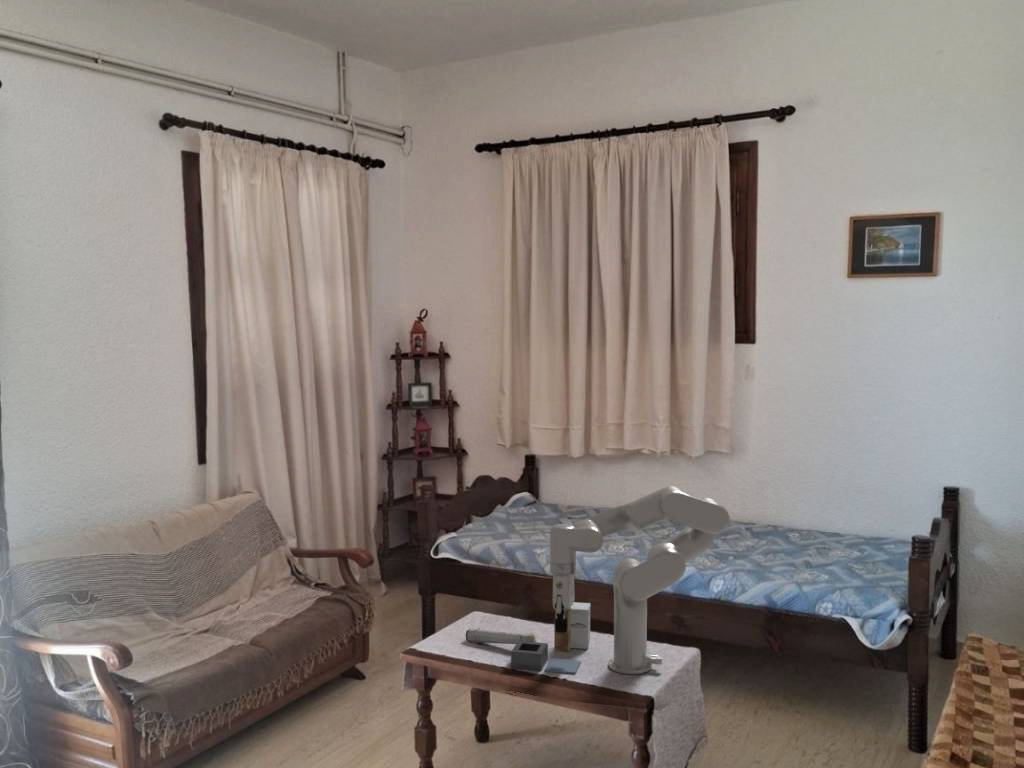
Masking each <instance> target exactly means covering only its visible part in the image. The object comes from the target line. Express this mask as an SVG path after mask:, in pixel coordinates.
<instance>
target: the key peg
mask: <svg viewBox="0 0 1024 768" xmlns="http://www.w3.org/2000/svg"><path fill="white" fill-rule="evenodd" d="M561 608H564V606H562V607H561ZM553 609H554V630H553V631H554V634H553V635H554V636H553V637H554V640H553V641H554V648H553V649H554V652H555V653H556V652H557V653H564V654H568V653H570V650H571V649H572V648H571V608H570V609H569V610H567V609H566V619H567V632H566V633H563V632H556V631H555V630H556V608H554V607H553ZM563 611H564V610H561V612H563Z"/></svg>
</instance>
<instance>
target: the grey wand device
mask: <svg viewBox="0 0 1024 768" xmlns="http://www.w3.org/2000/svg"><path fill="white" fill-rule="evenodd" d="M465 640H466V642H468V641H471V642H470V643H475V642H476V643H475V644H477V643H478V644H481V643H482V644H501V645H505V644H508V645H516V644H517V642H518V641H526V642H537V643H540V642H539V641H537V640H536V635H535V634H534V633H533V632H525V633H515V632H504V631H498V630H497V631H494V630H487V629H486V630H485V629H481V628H479V627H478V628H476V629H473V628H469V629H468V630H466V633H465Z"/></svg>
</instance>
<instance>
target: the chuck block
mask: <svg viewBox="0 0 1024 768" xmlns="http://www.w3.org/2000/svg"><path fill="white" fill-rule="evenodd" d="M537 642H538V641H536V642H526V641H518V642H517V644H514V647H512V649H511V651H510V669H513V670H514V669H515V670H516V669H517V670H527V671H536V672H542V671H543V669H544V667H546V666H545V665H546V664H547V662H548V661H549V660H548V659H549V653H548V652H549V651H548V650H549V645H548V644H549V643H548V642H547V643H546V642H539V643H537Z"/></svg>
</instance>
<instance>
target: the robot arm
mask: <svg viewBox="0 0 1024 768" xmlns="http://www.w3.org/2000/svg"><path fill="white" fill-rule="evenodd" d="M667 519H668V520H670V521H672V522H675V523H677V524H680V525H682V526H685V528H684V529H682V530H680V531H679V532H678V533H676V534H674V535H672V536H670V537H668V538H666V539H665V540H662V541H661V542H658V543H657V544H655V545H652V547H651V548H650V549H649V550H648V552H647V555H646V560H645V561H644V562H640V561H639V560H638V559H635V558H632V557H627V558H623V559H621V560H620V561H619V562H618V563H617V564H616V565H615V567H614V570H613V573H612V587H613V657H611V658H609V660H608V668H609V669H611V670H612V671H614V672H617V673H619V674H623V675H624V674H625V675H640V674H641V675H642V674H646V673H648V672H650V671H651V670H652V669H653V668H652V667H653V665H658V666H660V665H662V664H663V657H659V655H656V654H653V655H652V654H651V653H649V652H650V651H649V649H648V648H647V647H648V646H647V645H648V644H647V642H648V641H647V640H648V639H647V637H648V636H647V634H648V633H647V632H648V630H647V629H648V627H647V625H648V624H647V623H648V622H647V621H648V599H649V598H650V597H652V596H655V595H656V594H659V593H661V592H662V591H664V590H666V589H667V588H670V587H671V586H673V585H675V584H676V583H678V581H679V582H680V580H681V579H682V577H683V576H684V574H685V571H686V567H687V565H686V564H688V563H689V562H691V561H693V560H694V559H696V558H697V557H700V555H702V554H703V553H705V552H706V551H707V550H708V549H709V548H710V547H711V546H712V544H713V542H714V540H715V538H716V536H717V534H721V533H723V532H724V531H726V530H727V528H728V527H729V524H730V519H731V517H730V514H729V511H728V510H727V509H726V507H724V506H723V505H722V504H721V503H720V502H718V500H715V499H713V498H710V497H702V498H697V497H695V496H692V495H690V494H687V493H685V492H684V491H683V490H682V489H680V488H679V487H677V486H674V485H670V486H664V487H663V488H660V489H658V490H655V491H653V492H651V493H649V494H647V495H644V496H643V497H640V498H638V499H636V500H633V501H632V502H631V501H630V502H629V503H626V504H622V505H619V506H617V507H612V508H609V509H606V510H603V511H600V512H598V513H596V514H593V515H591V516H589V517H587V518H586V519H584V520H581V521H580V522H579V523H578V524H577V525H576V527H575V526H574V525H572V524H568V523H557V524H553V525H552V526H551V527H550V530H549V531H550V532H549V536H550V537H549V539H550V540H549V573H550V574H552V575H553V578H552V607H553V609H554V608H556V630H555V631H556V632H563V633H566V632H567V619H566V609H567V610H569V609H570V608H571V606H572V605H573V603H574V602H575V600H576V599H575V597H576V595H575V594H576V593H575V592H576V591H575V574H576V573H577V552H582V553H589V554H590V553H591V554H592V553H596V552H598V551H599V550H600V549H602V547H603V545H604V538H606V537H608V536H612V535H614V534H617V533H621V532H631V533H632V532H633V533H634V532H641V531H643V530H646V529H648V528H649V527H652V526H654V525H657V524H659V523H661V522H663V521H666V520H667ZM562 606H564V608H561V607H562ZM561 610H564V611H563V612H561ZM645 672H646V673H645Z"/></svg>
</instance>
